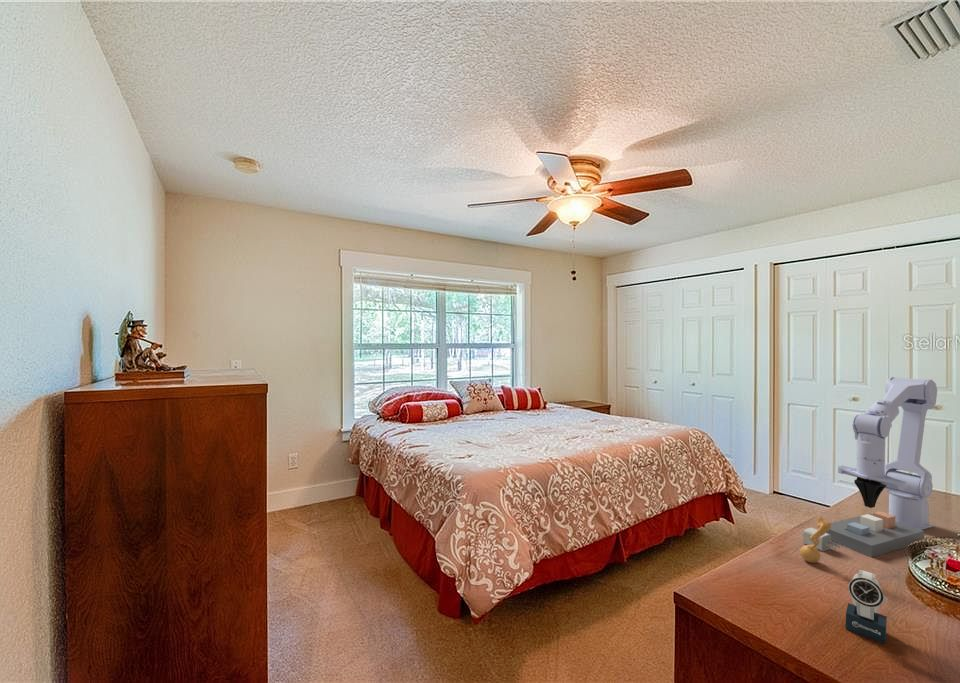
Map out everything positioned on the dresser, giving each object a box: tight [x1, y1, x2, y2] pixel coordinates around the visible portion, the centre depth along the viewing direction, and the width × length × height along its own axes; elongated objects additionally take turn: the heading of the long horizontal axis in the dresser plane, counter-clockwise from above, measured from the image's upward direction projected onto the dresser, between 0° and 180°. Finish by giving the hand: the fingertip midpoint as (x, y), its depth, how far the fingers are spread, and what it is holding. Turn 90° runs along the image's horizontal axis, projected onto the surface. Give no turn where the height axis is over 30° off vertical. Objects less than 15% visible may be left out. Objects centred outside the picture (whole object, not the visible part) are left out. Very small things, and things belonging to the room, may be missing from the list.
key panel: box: [826, 513, 925, 558], centre depth 117 cm, size 24×12×3 cm, turn 111°
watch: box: [845, 569, 888, 645], centre depth 80 cm, size 6×8×11 cm
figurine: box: [799, 516, 831, 564], centre depth 104 cm, size 8×6×12 cm
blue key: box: [847, 522, 870, 536], centre depth 115 cm, size 3×3×4 cm
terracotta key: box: [872, 510, 896, 529], centre depth 119 cm, size 3×3×4 cm
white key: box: [859, 513, 883, 533], centre depth 117 cm, size 3×3×4 cm
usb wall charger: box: [802, 527, 841, 552], centre depth 111 cm, size 4×7×4 cm, turn 23°
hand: (869, 506), depth 116 cm, fingers closed
